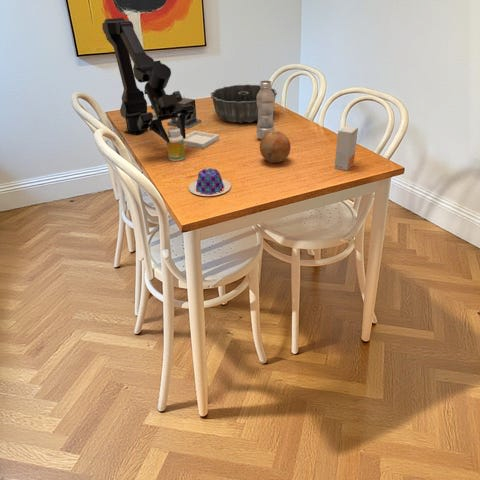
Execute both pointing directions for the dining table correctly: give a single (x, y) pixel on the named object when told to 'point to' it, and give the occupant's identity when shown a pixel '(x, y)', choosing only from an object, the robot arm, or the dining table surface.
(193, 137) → the white tray
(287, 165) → the dining table surface
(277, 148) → the onion
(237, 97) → the bundt pan
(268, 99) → the plastic bottle
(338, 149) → the skincare box
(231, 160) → the dining table surface
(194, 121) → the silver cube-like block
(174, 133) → the supplement bottle
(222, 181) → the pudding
